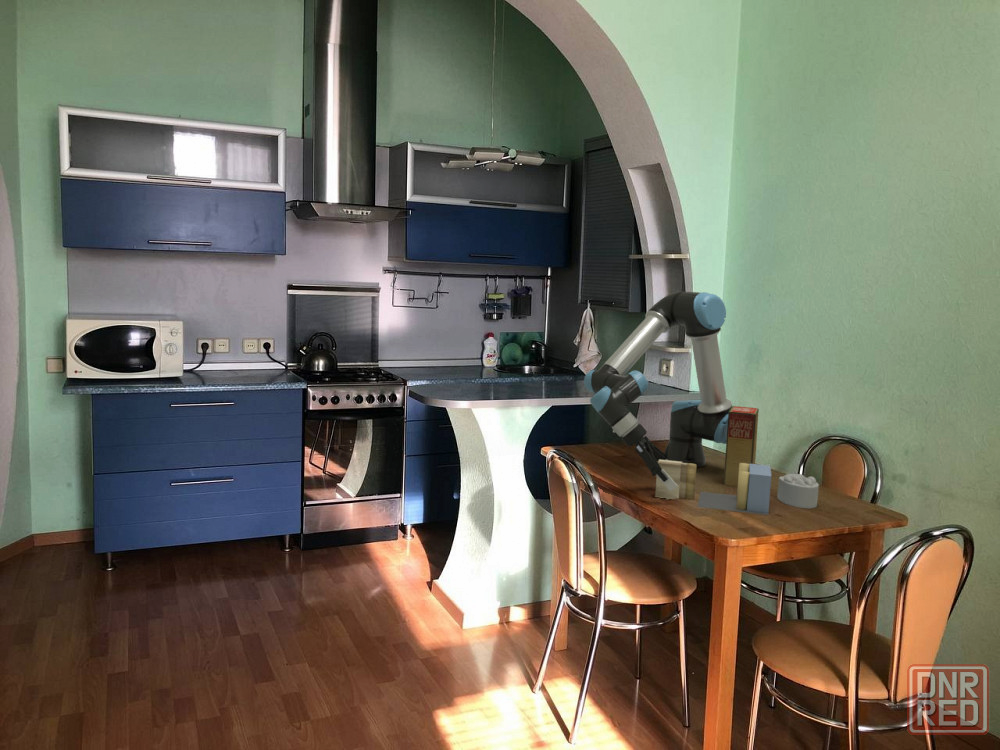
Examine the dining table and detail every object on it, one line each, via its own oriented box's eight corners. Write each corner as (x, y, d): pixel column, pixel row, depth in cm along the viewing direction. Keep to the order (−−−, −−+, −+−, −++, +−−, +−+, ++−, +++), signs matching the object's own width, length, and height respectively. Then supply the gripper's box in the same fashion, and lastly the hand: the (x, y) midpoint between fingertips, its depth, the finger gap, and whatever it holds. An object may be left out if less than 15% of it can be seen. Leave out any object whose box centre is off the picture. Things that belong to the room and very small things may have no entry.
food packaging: (726, 477, 285) (731, 405, 282) (754, 480, 282) (760, 408, 279) (721, 486, 273) (727, 411, 270) (751, 490, 270) (758, 414, 267)
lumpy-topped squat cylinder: (804, 498, 262) (806, 471, 261) (824, 510, 250) (827, 482, 248) (772, 498, 261) (775, 471, 260) (791, 510, 248) (794, 482, 247)
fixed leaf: (736, 497, 258) (739, 462, 257) (767, 500, 256) (770, 465, 254) (736, 509, 245) (739, 472, 243) (768, 513, 242) (771, 476, 241)
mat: (700, 493, 263) (700, 491, 263) (766, 500, 258) (766, 498, 257) (697, 508, 246) (697, 506, 246) (768, 516, 240) (768, 514, 240)
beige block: (656, 493, 260) (659, 459, 259) (694, 498, 257) (697, 463, 256) (655, 497, 256) (657, 462, 254) (693, 502, 252) (696, 466, 251)
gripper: (626, 430, 271) (669, 480, 269) (614, 445, 247) (662, 500, 245) (643, 416, 269) (687, 466, 267) (633, 429, 245) (682, 485, 243)
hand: (675, 483), depth 256 cm, fingers open, 13 cm apart
